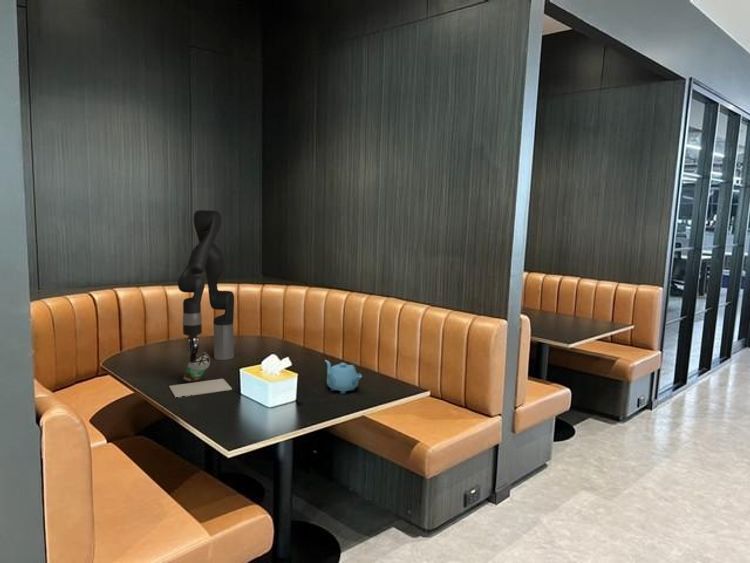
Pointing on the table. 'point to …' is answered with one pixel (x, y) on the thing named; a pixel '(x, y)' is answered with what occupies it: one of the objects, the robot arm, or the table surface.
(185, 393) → the mat
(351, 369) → the teapot
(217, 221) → the robot arm
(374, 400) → the table surface
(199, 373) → the food container
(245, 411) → the table surface
